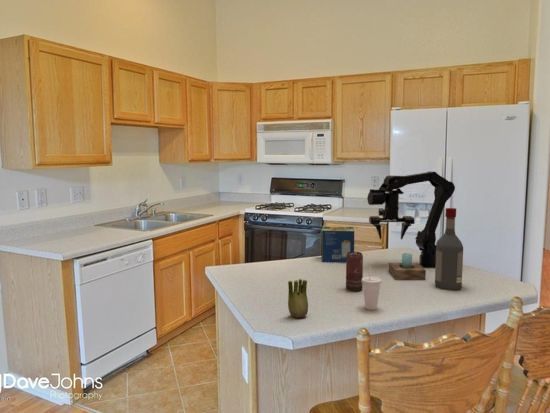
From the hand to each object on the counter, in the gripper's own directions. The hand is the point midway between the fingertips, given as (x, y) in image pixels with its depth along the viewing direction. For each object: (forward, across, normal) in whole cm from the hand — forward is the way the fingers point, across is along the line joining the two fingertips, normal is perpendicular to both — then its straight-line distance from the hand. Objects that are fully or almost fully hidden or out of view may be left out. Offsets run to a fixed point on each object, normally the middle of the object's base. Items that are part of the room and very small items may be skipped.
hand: (390, 239), depth 182 cm
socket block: (+13, -4, +12) cm, 18 cm away
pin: (+12, -4, +12) cm, 17 cm away
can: (+13, +20, +30) cm, 38 cm away
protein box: (+13, +22, -14) cm, 29 cm away
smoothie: (+13, +17, +49) cm, 54 cm away
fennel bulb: (+13, +41, +57) cm, 71 cm away
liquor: (+13, -16, +26) cm, 33 cm away
